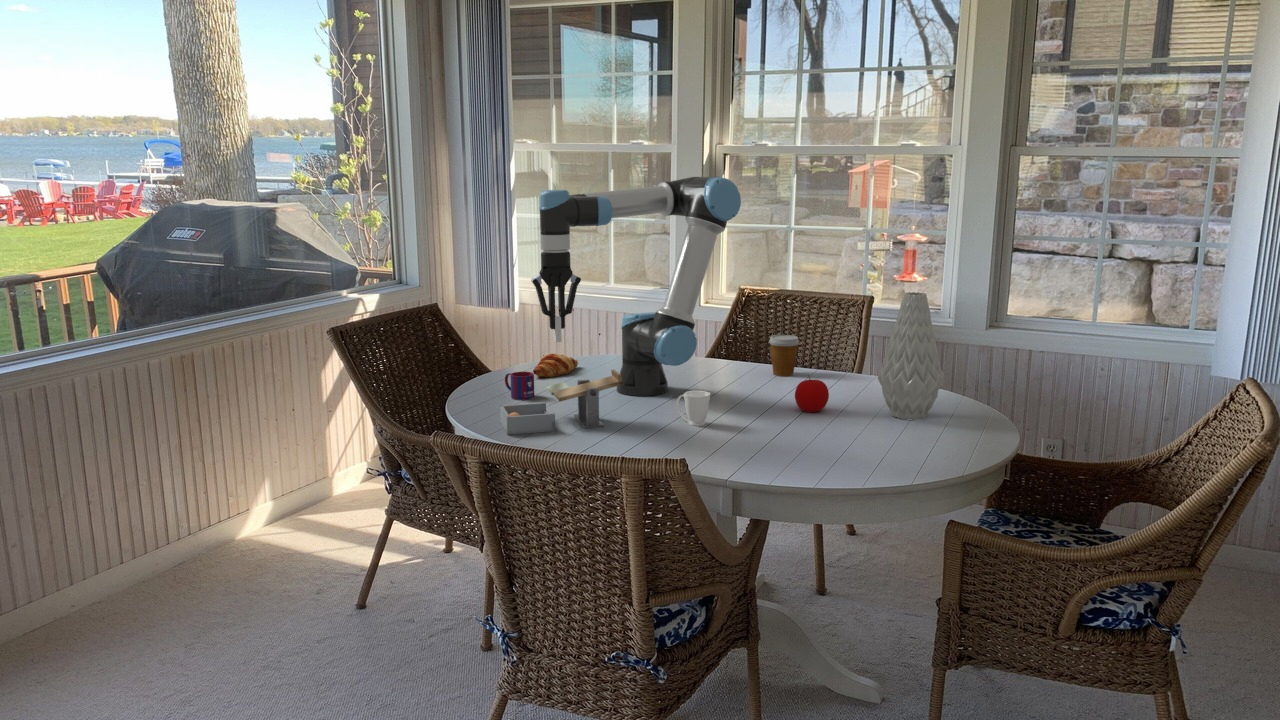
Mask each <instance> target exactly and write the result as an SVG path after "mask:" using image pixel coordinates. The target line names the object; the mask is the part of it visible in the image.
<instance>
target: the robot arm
mask: <svg viewBox="0 0 1280 720" xmlns="http://www.w3.org/2000/svg"><path fill="white" fill-rule="evenodd" d="M538 204H539V207H538V210H539V224H540V227H539V228H540V249H541V251H542V252H541V253H540V266H541V268H540V271H539V272H538V273H539V274H538V275H537V276H535V277H533V278H531V279H530V280H531V283H532V284H533V286H534V287H535V292H536V294H537V298H538V302H539V306H540V309H541V312H542V314H543V315H545V316H548V317H549V328H550V330H553V341H554V342H555V343H561V342H562V329H565V328H566V318H565V317H566V316H567V315H570V314H572V312H573V307H574V303H575V298H576V294H577V289H578V286H579V284H580V283H581V281H582V279H581V277H579V276H576V275H575V274H574V273H573V270H572V268H571V252H570V251H569V250H570V249H571V233H570V230H571V228H572V227H573V228H574V227H599V226H606V225H608V224H609V223H610V222H611V221H612V219H618V218H626V217H634V216H635V217H636V216H637V217H638V216H645V215H653V214H655V215H656V214H660V215H662V216H664V217H667V216H679V217H680V216H681V217H685V218H684V219H685V221H686V223H687V229H686V232H685V235H684V239H683V242H682V245H681V249H680V251H679V255H678V258H677V261H676V265H675V267H674V269H673V273H672V277H671V280H670V284H669V286H668V291H667V292H666V297H665V299H664V302H663V305H662V307H661V308H659V309H657V310H655V312H638V313H637V312H636V313H629V314H625V315H624V316H623V317H622V320H621V322H622V323H621V342H622V343H621V344H622V345H621V346H622V347H621V351H622V352H621V353H622V358H621V359H622V361H621V362H622V364H621V367H620V371H619V374H620V375H621V377H622V382H623V385H619V386H616V391H617V392H618V393H619V394H623V395H626V396H627V395H628V396H638V397H639V396H641V397H644V396H645V397H646V396H657V395H661V394H664V393H666V392H668V385H669V384H668V379H667V377H666V374H665V370H664V367H663V365H665V366H671V367H673V366H674V367H676V366H681V365H683V364H685V363H687V362H688V361H689V360H690V359H691V358H692V357H693V356H694V354H695V352H696V349H697V345H698V339H697V338H696V333H695V331H694V329H695V326H696V322H695V320H694V318H693V314H694V311H695V308H696V305H697V301H698V298H699V295H700V293H701V288H702V287H703V282H704V279H705V275H706V273H707V270H708V267H709V263H710V260H711V256H712V253H713V250H714V247H715V243H716V241H717V238H718V235H720V234H721V233H723V232H725V229H726V227H727V223H728V221H730V220H733V219H734V218H735V217H736V216H737V215H738V213H739V211H740V209H741V205H742V197H741V193H740V191H739V188H738V187H737V185H736V184H735V183H734V181H732V180H730V179H728V178H726V177H721V176H690V177H685V178H681V179H677V180H676V179H674V180H670V181H662V182H659V183H658V185H657V186H650V187H649V186H648V187H637V188H636V187H635V188H627V189H619V190H618V189H617V190H607V191H598V192H597V191H596V192H589V193H588V192H587V193H586V192H585V193H577V194H570V193H569V191H568V190H567V189H545V190H542V191H541V192H540V193H539V203H538ZM542 280H543V281H542ZM569 281H570V283H571V284H570V286H569V291H568V296H567V299H566V298H565V297H566V295H565V290H566V285H567V283H568V282H569ZM543 282H544V283H545V284H546V286H547V292H548V293H547V294H548V305H547V302H546V298H545V294H544V291H543V288H542V287H543V286H542V283H543ZM556 287H557V298H558V299H557V303H558V305H557V307H558V315H556ZM566 300H567V301H566Z"/></svg>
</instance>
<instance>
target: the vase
mask: <svg viewBox="0 0 1280 720" xmlns="http://www.w3.org/2000/svg"><path fill="white" fill-rule="evenodd" d="M877 380H878V382H879V384H880V386H881V391H882V396H883V398H884V402H885V404H886V405H887V408H888V410H889V413H890V415H891V416H892V417H894V418H896V417H897V418H896V419H900V418H901V419H900V420H905V419H919V420H923V419H922V418H924V417H925V418H927V416H928V414H929V412H930V410H931V408H933V406H934V403H935V402H936V399H937V398H938V394H939V390H940V388H941V387H943V385H944V372H943V370H942V368H941V362H940V356H939V351H938V347H937V343H936V337H935V332H934V327H933V323H932V317H931V310H930V306H929V301H928V297H927V293H925V292H915V291H913V292H911V291H909V292H904V293H903V297H902V300H901V302H900V308H899V310H898V312H897V318H896V321H895V324H894V327H893V329H892V333H891V335H890V338H889V341H888V345H887V347H886V349H885V355H884V358H883V362H882V364H881V367H880V368H879V371H878V375H877ZM925 418H924V419H925Z"/></svg>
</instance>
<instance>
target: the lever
mask: <svg viewBox="0 0 1280 720" xmlns="http://www.w3.org/2000/svg"><path fill="white" fill-rule="evenodd" d="M610 372H611V375H610V376H608V377H607V376H606V377H603V378H598V379H595V380H592V381H590V382H588V383H584V384H580V385H578V384H577V385H574V386H573V385H572V386H569V385H568V384H567V383H566V382H565V381H563V382H559V383H555V384H551V385H548V386H546V387H545V388H546V390H547V391H548V392H549V394H550V395H551V396H553V397H555V398H556V400H557V401H559V402H563V401H564V402H565V401H567V400H572V399H574V398H575V399H576V398H578V397H579V396H583V395H586V388H599V392H601V391H605V390H608V389H611V388H615V387H616V388H617V386H619V385H623V382H622V377H621V375H620V372H618V371H617V370H616V369H614V368H613V369H611V370H610Z"/></svg>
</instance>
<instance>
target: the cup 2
mask: <svg viewBox="0 0 1280 720" xmlns="http://www.w3.org/2000/svg"><path fill="white" fill-rule="evenodd" d="M711 394H712V393H711V392H709V391H706V390H689V391H685V392H684V393H683V394H680V395H679V396H678V397H677V399H676V401H675V402H676V403H675V407H676V411H677V413H678V415H679V416H680V417H681V418H682V419H683V421H686V422H687V423H688V425H690V426H691V427H692V426H693V427H695V426H696V427H701V426H705V425H706V419H707V415H708V412H709V407H710V406H709V405H710V400H711V396H712V395H711ZM682 397H683V399H684V404H685V405H684V407H685V412H686V416H687V417H686V416H685V415H684V414H683V413H682V410H680V405H679V404H680V400H681V399H682Z"/></svg>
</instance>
